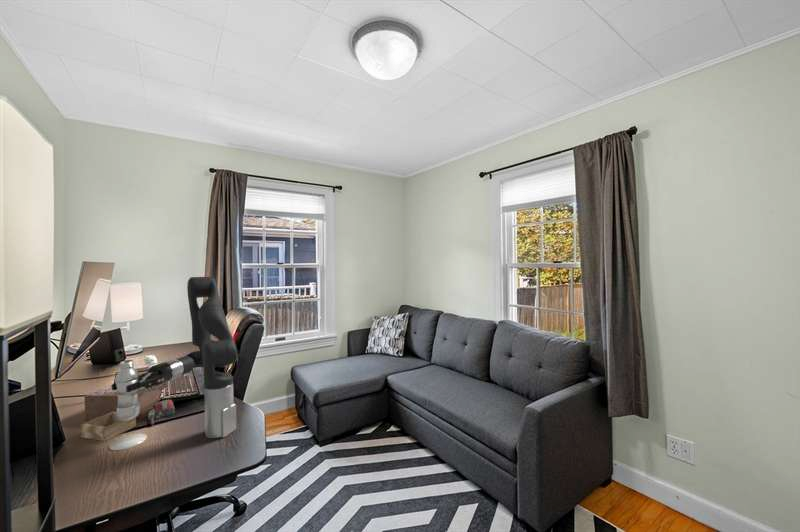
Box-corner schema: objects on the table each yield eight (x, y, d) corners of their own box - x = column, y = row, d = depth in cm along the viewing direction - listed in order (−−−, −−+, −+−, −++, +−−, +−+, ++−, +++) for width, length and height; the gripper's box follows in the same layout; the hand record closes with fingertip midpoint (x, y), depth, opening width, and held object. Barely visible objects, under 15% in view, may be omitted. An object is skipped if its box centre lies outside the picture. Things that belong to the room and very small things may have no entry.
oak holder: (136, 426, 125) (135, 414, 125) (104, 441, 115) (104, 428, 115) (113, 423, 128) (113, 411, 128) (81, 437, 118) (80, 424, 118)
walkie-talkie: (147, 410, 140) (148, 428, 124) (147, 400, 140) (148, 416, 124) (172, 404, 145) (176, 421, 129) (172, 394, 145) (176, 410, 129)
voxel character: (149, 382, 158) (143, 354, 163) (143, 392, 164) (138, 365, 169) (166, 378, 163) (160, 351, 169) (160, 388, 169) (154, 361, 175)
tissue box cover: (139, 394, 157) (139, 373, 157) (168, 394, 156) (168, 373, 156) (85, 420, 131) (84, 395, 131) (119, 420, 131) (118, 395, 130)
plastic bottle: (112, 425, 110) (110, 365, 109) (120, 416, 116) (118, 360, 115) (136, 421, 112) (134, 363, 112) (143, 412, 118) (141, 357, 118)
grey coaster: (153, 436, 117) (153, 435, 117) (124, 452, 108) (124, 451, 108) (132, 433, 120) (132, 432, 120) (101, 448, 110) (101, 447, 110)
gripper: (151, 360, 129) (103, 375, 113) (180, 363, 126) (135, 379, 109) (152, 379, 129) (104, 397, 113) (181, 382, 126) (136, 401, 110)
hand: (119, 388), depth 111 cm, fingers closed on plastic bottle, 6 cm apart
